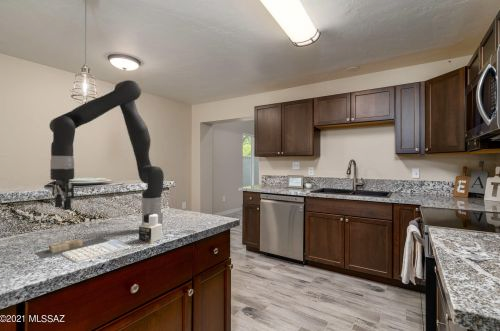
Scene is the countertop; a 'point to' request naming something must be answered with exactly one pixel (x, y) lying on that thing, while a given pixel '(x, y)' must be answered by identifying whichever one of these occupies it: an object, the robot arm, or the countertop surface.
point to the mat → (85, 243)
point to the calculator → (94, 250)
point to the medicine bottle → (150, 229)
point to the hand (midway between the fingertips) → (62, 208)
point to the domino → (65, 245)
